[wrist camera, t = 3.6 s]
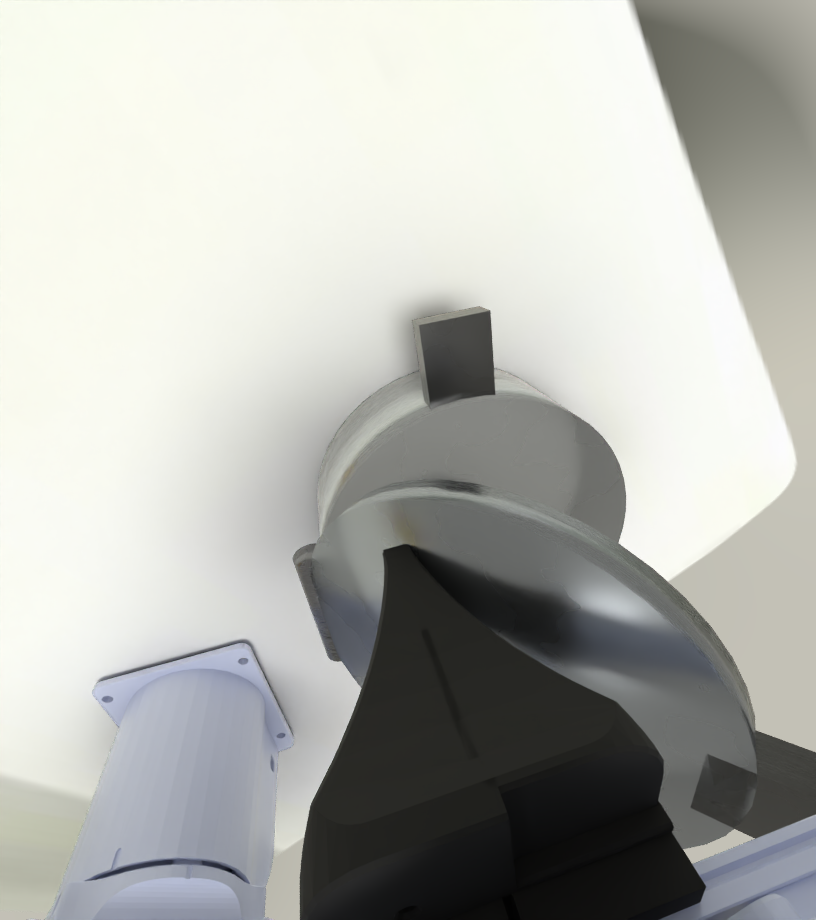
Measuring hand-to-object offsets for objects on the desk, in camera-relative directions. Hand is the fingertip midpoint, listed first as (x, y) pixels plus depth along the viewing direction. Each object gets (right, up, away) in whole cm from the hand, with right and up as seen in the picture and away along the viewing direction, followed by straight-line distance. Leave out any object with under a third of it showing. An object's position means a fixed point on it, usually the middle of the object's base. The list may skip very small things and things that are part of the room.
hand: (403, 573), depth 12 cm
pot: (+2, +2, +10) cm, 11 cm away
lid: (+4, -3, +1) cm, 5 cm away
